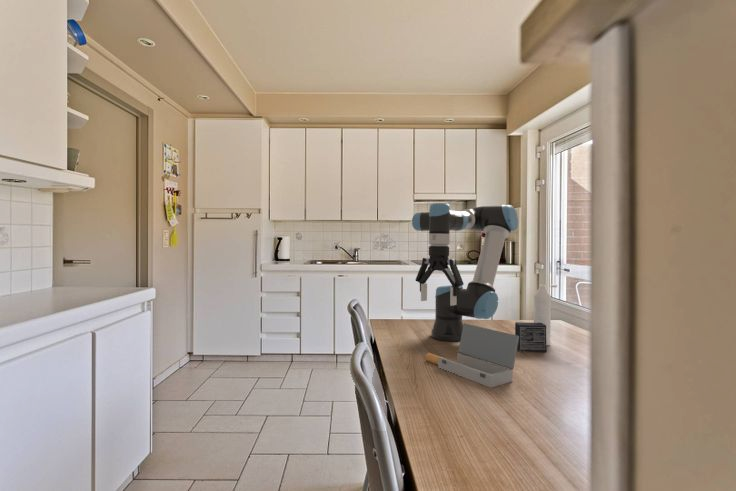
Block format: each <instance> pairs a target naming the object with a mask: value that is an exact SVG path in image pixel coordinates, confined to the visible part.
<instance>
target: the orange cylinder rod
mask: <svg viewBox="0 0 736 491" xmlns="http://www.w3.org/2000/svg"><path fill="white" fill-rule="evenodd" d="M438 357H442V358H445V357H443V356H440V355H437V354H434V353H431V352H427V353H426V354H425V355H424V359H425V362H426V361H427V362H429V363H431V364H435V365H436V364H437V366H438ZM445 359H448V360H450V359H449V358H445Z"/></svg>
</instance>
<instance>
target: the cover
mask: <svg viewBox="0 0 736 491" xmlns="http://www.w3.org/2000/svg"><path fill="white" fill-rule="evenodd" d="M518 340H519V336H517V335H515V334H512V333H508V332H503V331H499V330H494V329H491V328H487V327H482V326H479V325H474V324H468V323H466V322H464V323H463V330H462V335H461V340H460V341H459V347H458V353H461V354H464V355H467V356H470V357H474V358H477V359H480V360H483V361H486V362H489V363H492V364H496V365H499V366H502V367H505V368H508V369H511V370H513V371H514V368H515V361H516V356H517V351H518V350H517V345H518Z"/></svg>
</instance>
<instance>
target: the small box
mask: <svg viewBox="0 0 736 491" xmlns="http://www.w3.org/2000/svg"><path fill="white" fill-rule="evenodd" d="M514 324H515V325H514V330H515V331H514V332H515V334H514V335H517V336H519V340H518V345H517V351H518V352H525V353H526V352H534V353H536V352H537V353H547V346H546V325H544V324H543V323H534V322H524V321H523V322H521V321H517V322H514Z"/></svg>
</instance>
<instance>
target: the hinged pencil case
mask: <svg viewBox="0 0 736 491" xmlns="http://www.w3.org/2000/svg"><path fill="white" fill-rule="evenodd" d="M442 357H443V356H440V357H438V365H437V368H438V369H440V368H441V369H440V370H443V369H444V371H446V370H447V371H446V372H448V371H449V373H451V372H452V374H453V373H455V374H454V375H456V374H457V376H460V377H461V376H462V377H461V378H464V377H465V378H464V379H467V380H469V379H470V380H469V381H472V382H474V381H475V383H477V384H480V385H482V384H483V386H485V387H488V388H490V389H491V388H494V387H499V386H502V385H505V384H508V383H512V382H513V373H514V369H513V370H512V369H509V368H506V367H503V366H499V365H496V364H493V363H490V362H487V361H484V360H480V359H477V358H474V357H471V356H468V355H465V354H462V353H459V352H458V353H456V361H453V360H451V359H449V358H446V359H445V357H443V358H442ZM448 359H449V360H448Z"/></svg>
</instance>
